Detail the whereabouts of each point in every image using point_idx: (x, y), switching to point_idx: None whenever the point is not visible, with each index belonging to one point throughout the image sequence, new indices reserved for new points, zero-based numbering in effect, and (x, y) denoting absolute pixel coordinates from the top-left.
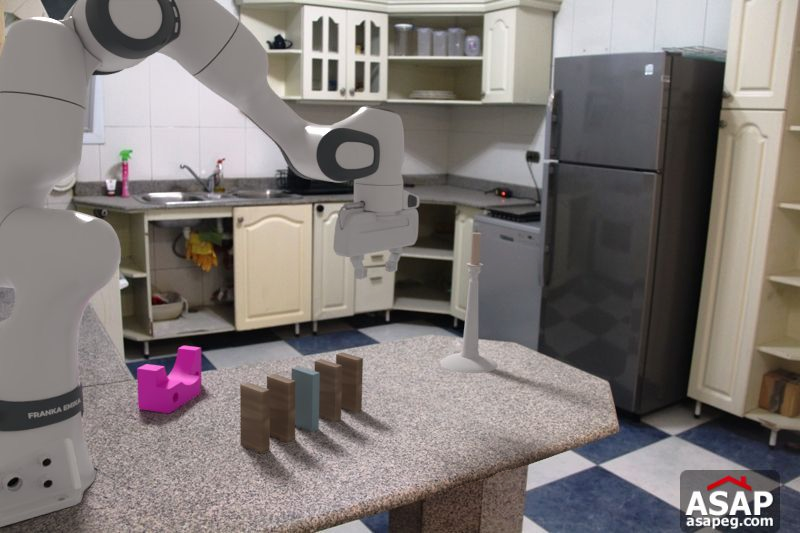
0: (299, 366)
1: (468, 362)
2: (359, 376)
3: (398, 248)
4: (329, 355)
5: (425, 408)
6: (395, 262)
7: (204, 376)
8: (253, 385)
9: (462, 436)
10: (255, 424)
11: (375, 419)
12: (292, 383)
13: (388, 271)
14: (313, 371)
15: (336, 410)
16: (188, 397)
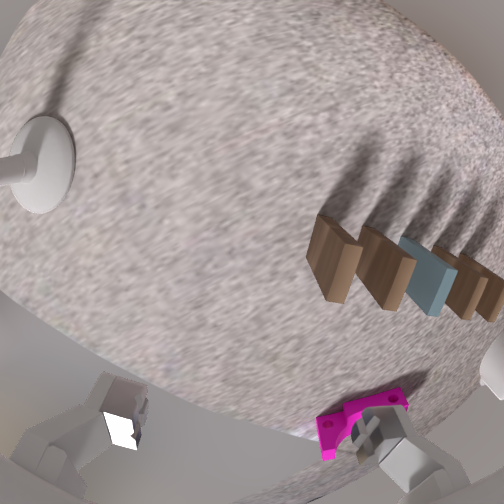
0: (427, 313)
1: (46, 153)
2: (342, 233)
3: (49, 476)
4: (131, 365)
5: (248, 125)
6: (102, 412)
7: (294, 426)
8: (496, 308)
9: (324, 39)
10: None
11: (336, 179)
12: (482, 276)
13: (146, 398)
14: (443, 280)
15: (378, 232)
16: (367, 399)
